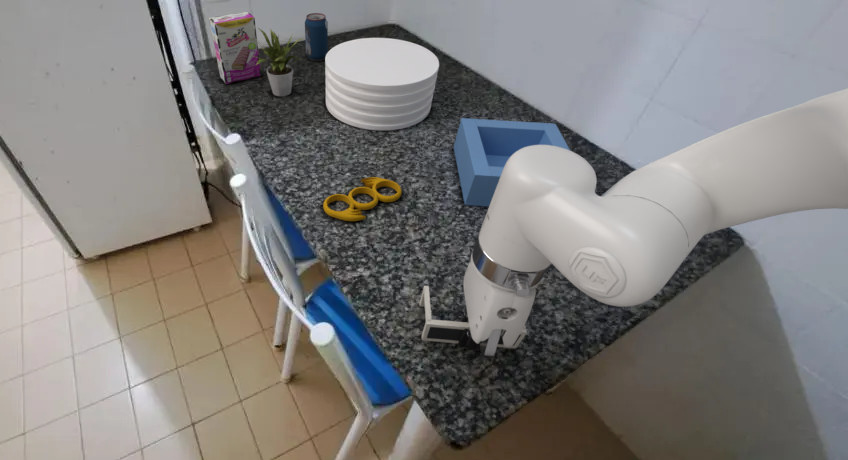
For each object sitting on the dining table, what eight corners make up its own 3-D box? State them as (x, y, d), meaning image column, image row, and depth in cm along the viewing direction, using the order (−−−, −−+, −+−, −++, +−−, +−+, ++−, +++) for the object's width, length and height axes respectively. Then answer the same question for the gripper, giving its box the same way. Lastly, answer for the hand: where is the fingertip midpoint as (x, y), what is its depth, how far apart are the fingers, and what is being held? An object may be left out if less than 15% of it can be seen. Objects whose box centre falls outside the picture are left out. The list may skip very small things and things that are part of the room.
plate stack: (452, 114, 100) (463, 70, 92) (357, 141, 92) (360, 95, 83) (393, 71, 118) (397, 31, 109) (308, 90, 109) (306, 48, 100)
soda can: (331, 54, 126) (331, 14, 117) (322, 63, 121) (321, 21, 113) (311, 51, 127) (310, 11, 119) (302, 59, 123) (300, 18, 114)
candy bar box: (226, 85, 110) (213, 23, 98) (220, 78, 113) (207, 17, 101) (262, 76, 114) (254, 15, 103) (255, 70, 117) (247, 10, 106)
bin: (541, 152, 89) (555, 123, 84) (569, 212, 75) (587, 182, 70) (453, 147, 90) (461, 117, 85) (464, 205, 77) (474, 174, 71)
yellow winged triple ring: (314, 197, 78) (335, 229, 72) (314, 191, 77) (335, 224, 70) (386, 176, 83) (412, 205, 77) (387, 170, 82) (413, 199, 75)
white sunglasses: (516, 349, 54) (527, 332, 51) (421, 340, 55) (426, 324, 52) (506, 309, 59) (516, 292, 56) (419, 302, 60) (424, 285, 57)
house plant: (241, 92, 108) (230, 29, 96) (277, 75, 115) (271, 15, 103) (277, 109, 102) (270, 44, 90) (313, 90, 109) (310, 27, 97)
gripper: (568, 321, 36) (507, 398, 49) (528, 210, 47) (486, 298, 60) (486, 314, 37) (447, 392, 50) (464, 206, 48) (437, 294, 61)
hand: (468, 340), depth 55 cm, fingers closed on white sunglasses, 1 cm apart
